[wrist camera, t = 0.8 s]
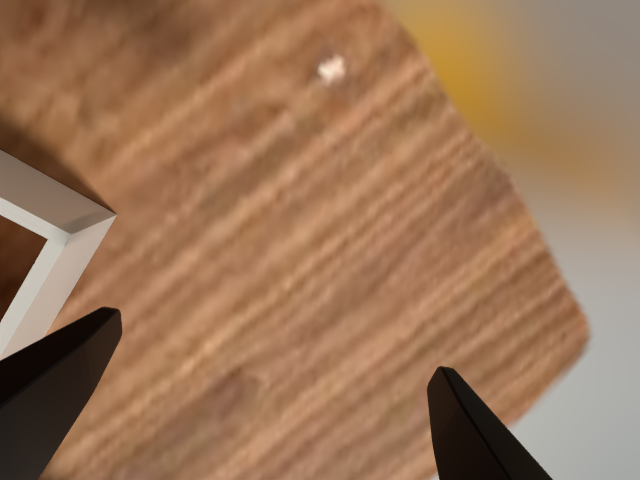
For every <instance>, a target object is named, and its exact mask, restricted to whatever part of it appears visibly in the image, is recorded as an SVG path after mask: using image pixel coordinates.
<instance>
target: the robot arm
mask: <svg viewBox="0 0 640 480" xmlns="http://www.w3.org/2000/svg"><path fill="white" fill-rule="evenodd" d="M121 336H122V322H121V313H120V310H119V309H116V308H110V307H101V308H99V309H97V310H95V311H93V312H91V313H89V314H87V315H85V316H84V317H82V318H80V319H78V320H76V321H74V322H72V323H70V324H68V325H67V326H65V327H63V328H61V329H59V330H57V331H55V332H53V333H51V334H49V335H48V336H46V337H44V338H42V339H40V340H38V341H36V342H34V343H32V344H30V345H29V346H27V347H25V348H23V349H21V350H19V351H17V352H15V353H13V354H12V355H10V356H8V357H6V358H4V359H2V360H0V480H38V478H39V477H40V475H41V474H42V472H43V471H44V469H45V468H46V466H47V464H48V463H49V461H50V460H51V458H52V457H53V455H54V454H55V452H56V450H57V449H58V447H59V446H60V444H61V443H62V441H63V440H64V438H65V436H66V435H67V433H68V432H69V430H70V429H71V427H72V425H73V424H74V422H75V421H76V419H77V418H78V416H79V415H80V413H81V411H82V410H83V408H84V407H85V405H86V404H87V402H88V400H89V399H90V397H91V396H92V394H93V392H94V390H95V388H96V387H97V385H98V383H99V381H100V379H101V377H102V375H103V373H104V371H105V369H106V367H107V365H108V363H109V361H110V359H111V357H112V355H113V353H114V351H115V349H116V347H117V345H118V343H119V341H120V339H121ZM427 396H428V406H429V416H430V426H431V436H432V443H433V450H434V455H435V460H436V465H437V470H438V475H439V480H553V479H552V478H551V477H550V476H549V475H548V474H547V472H546V471H545V470H544V469H543V468H542V467H541V466H540V465H539V463H538V462H537V461H536V460H535V459H534V458H533V457H532V456H531V455H530V453H529V452H528V451H527V450H526V449H525V448H524V447H523V446H522V445H521V443H520V442H519V441H518V440H517V439H516V438H515V437H514V435H513V434H512V433H511V432H510V431H509V430H508V429H507V428H506V426H505V425H504V424H503V423H502V422H501V421H500V420H499V419H498V418H497V416H496V415H495V414H494V413H493V412H492V411H491V410H490V409H489V407H488V406H487V405H486V404H485V403H484V402H483V401H482V400H481V398H480V397H479V396H478V395H477V394H476V393H475V392H474V391H473V390H472V388H471V387H470V386H469V385H468V384H467V383H466V382H465V381H464V379H463V378H462V377H461V376H460V375H459V374H458V373H457V372H456V371H455V370H454V369H453V368H449V367H443V366H440V367H438V368H437V369H436V371H435V373H434V374H433V376H432V378H431V380H430V381H429V383H428V387H427Z"/></svg>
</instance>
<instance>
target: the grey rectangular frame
mask: <svg viewBox="0 0 640 480" xmlns="http://www.w3.org/2000/svg"><path fill="white" fill-rule="evenodd" d="M0 215H2V216H4V217H6V218H8V219H10V220H11V221H13V222H15V223H17V224H19V225H21V226H23V227H25V228H27V229H29V230H31V231H33V232H35V233H37V234H39V235H41V236H43V237H45V238H47V239H48V240H47V242H46V244H45V246H44V247H43V249H42V251H41V253H40V254H39V256H38V258H37V260H36V261H35V263H34V265H33V266H32V268H31V270H30V272H29V273H28V275H27V277H26V279H25V280H24V282H23V284H22V286H21V287H20V289H19V291H18V293H17V294H16V296H15V298H14V300H13V301H12V303H11V305H10V307H9V308H8V310H7V312H6V313H5V315H4V317H3V319H2V320H1V322H0V360H2V359H4V358H6V357H8V356H10V355H12V354H13V353H15V352H17V351H19V350H21V349H23V348H25V347H27V346H29V345H30V344H32V343H34V342H36V341H38V340H40V339H42V338H44V336H45V335H46V333H47V331H48V330H49V328H50V326H51V325H52V323H53V321H54V320H55V318H56V316H57V315H58V313H59V311H60V310H61V308H62V306H63V305H64V303H65V301H66V300H67V298H68V296H69V295H70V293H71V291H72V290H73V288H74V286H75V285H76V283H77V281H78V280H79V278H80V276H81V275H82V273H83V271H84V270H85V268H86V266H87V265H88V263H89V261H90V259H91V258H92V256H93V254H94V253H95V251H96V249H97V248H98V246H99V244H100V243H101V241H102V239H103V238H104V236H105V234H106V233H107V231H108V229H109V228H110V226H111V224H112V223H113V221H114V219H115V218H116V216H117V215H116V214H115V213H113V212H111V211H109V210H108V209H106V208H104V207H102V206H100V205H99V204H97V203H95V202H93V201H91V200H90V199H88V198H86V197H84V196H82V195H81V194H79V193H77V192H75V191H74V190H72V189H70V188H68V187H66V186H65V185H63V184H61V183H59V182H57V181H56V180H54V179H52V178H50V177H48V176H47V175H45V174H43V173H41V172H40V171H38V170H36V169H34V168H32V167H31V166H29V165H27V164H25V163H23V162H22V161H20V160H18V159H16V158H15V157H13V156H11V155H9V154H7V153H6V152H4V151H2V150H0Z"/></svg>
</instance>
